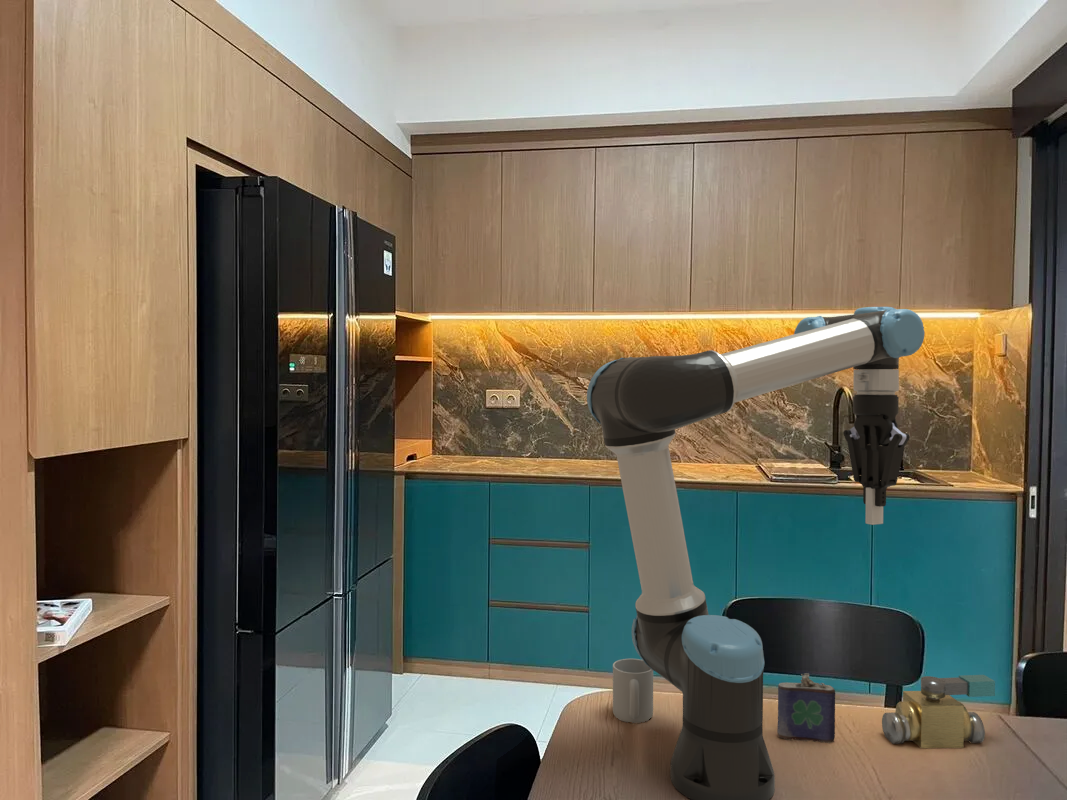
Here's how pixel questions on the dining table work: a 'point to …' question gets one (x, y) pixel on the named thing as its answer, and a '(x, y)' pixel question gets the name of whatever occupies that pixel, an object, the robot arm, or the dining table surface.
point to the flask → (806, 711)
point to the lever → (958, 686)
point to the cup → (632, 690)
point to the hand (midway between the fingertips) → (874, 523)
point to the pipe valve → (932, 722)
